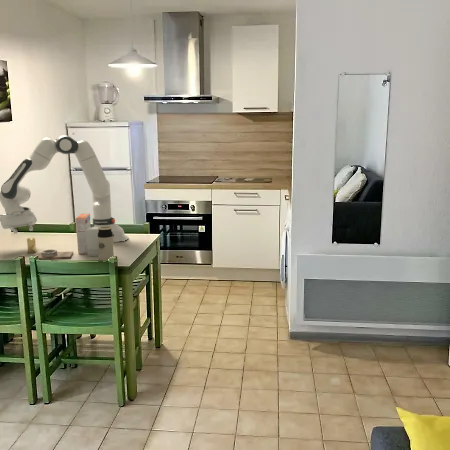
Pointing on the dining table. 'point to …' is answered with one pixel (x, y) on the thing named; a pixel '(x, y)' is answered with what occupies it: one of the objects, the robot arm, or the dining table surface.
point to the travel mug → (105, 242)
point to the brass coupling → (31, 245)
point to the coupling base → (59, 255)
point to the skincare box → (92, 241)
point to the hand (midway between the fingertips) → (24, 231)
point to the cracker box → (82, 232)
